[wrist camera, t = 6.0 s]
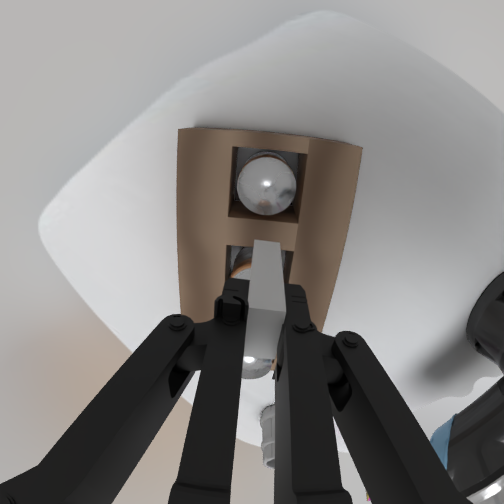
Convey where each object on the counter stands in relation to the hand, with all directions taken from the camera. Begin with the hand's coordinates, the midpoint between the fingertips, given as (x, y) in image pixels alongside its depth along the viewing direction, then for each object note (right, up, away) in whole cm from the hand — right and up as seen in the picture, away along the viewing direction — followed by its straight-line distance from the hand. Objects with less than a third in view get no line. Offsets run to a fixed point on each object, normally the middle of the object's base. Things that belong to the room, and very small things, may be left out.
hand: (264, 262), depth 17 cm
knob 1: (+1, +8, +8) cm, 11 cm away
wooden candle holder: (0, +1, +12) cm, 12 cm away
